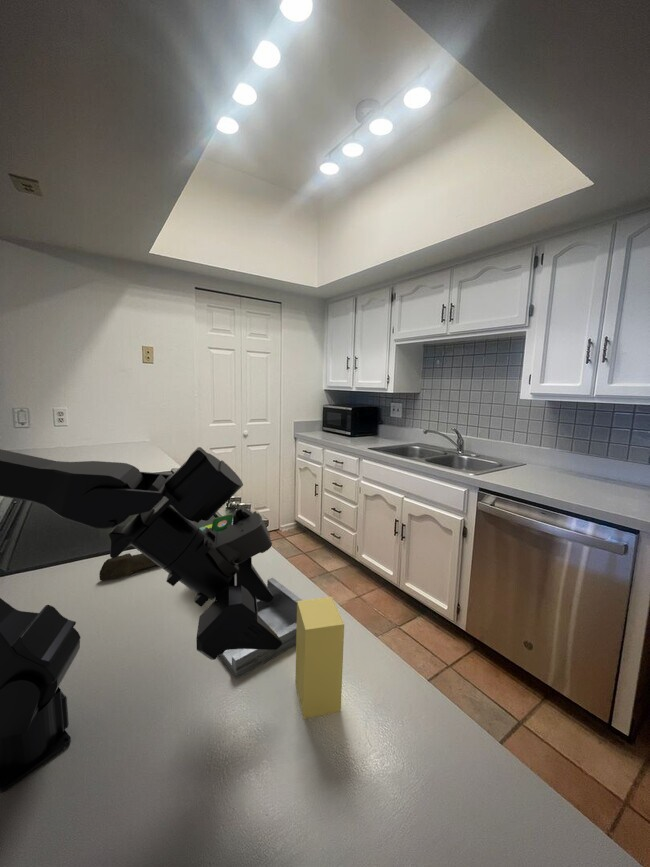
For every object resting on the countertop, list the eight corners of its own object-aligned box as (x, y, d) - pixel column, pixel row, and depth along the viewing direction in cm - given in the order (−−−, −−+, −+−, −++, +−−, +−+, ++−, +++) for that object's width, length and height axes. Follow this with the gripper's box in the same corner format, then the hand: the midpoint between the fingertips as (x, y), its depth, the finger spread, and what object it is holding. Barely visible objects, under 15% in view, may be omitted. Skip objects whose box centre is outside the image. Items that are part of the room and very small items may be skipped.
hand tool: (187, 552, 90) (187, 535, 89) (193, 559, 86) (192, 541, 86) (97, 576, 78) (96, 556, 77) (100, 584, 75) (99, 564, 74)
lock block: (303, 718, 46) (305, 629, 44) (295, 681, 52) (297, 601, 50) (340, 711, 47) (344, 624, 46) (329, 675, 53) (331, 596, 51)
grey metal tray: (236, 678, 52) (236, 646, 51) (202, 634, 61) (201, 605, 60) (311, 635, 61) (312, 607, 60) (272, 602, 70) (272, 577, 69)
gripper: (230, 528, 34) (339, 620, 38) (231, 477, 52) (305, 543, 56) (142, 617, 33) (264, 700, 37) (173, 533, 51) (253, 596, 55)
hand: (275, 620), depth 46 cm, fingers open, 9 cm apart
